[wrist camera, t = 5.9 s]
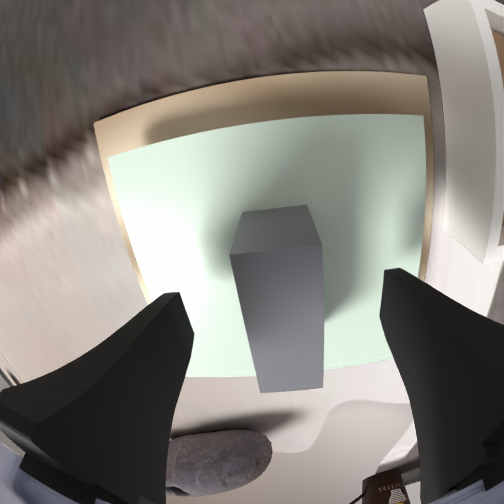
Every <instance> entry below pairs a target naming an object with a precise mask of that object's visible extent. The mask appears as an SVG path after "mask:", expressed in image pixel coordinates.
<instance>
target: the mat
mask: <svg viewBox="0 0 504 504" xmlns="http://www.w3.org/2000/svg"><path fill="white" fill-rule="evenodd" d="M349 114H399V115H420V116H423V117H424V130H425V149H426V197H425V216H424V230H423V240H422V249H421V258H420V265H419V272H418V278H419V279H420V280H422V281H424V279H425V273H426V267H427V260H428V253H429V244H430V235H431V224H432V211H433V190H434V151H433V130H432V117H431V107H430V98H429V91H428V84H427V77H426V76H422V75H413V74H403V73H391V72H372V71H326V72H307V73H294V74H284V75H275V76H266V77H259V78H252V79H246V80H240V81H234V82H229V83H223V84H218V85H214V86H209V87H205V88H200V89H196V90H192V91H188V92H184V93H180V94H176V95H173V96H169V97H166V98H162V99H159V100H156V101H153V102H149V103H146V104H143V105H140V106H137V107H134V108H131V109H129V110H126V111H123V112H120V113H118V114H115V115H112V116H110V117H107V118H105V119H102V120H100V121H97V122H95V123H94V127H95V132H96V137H97V142H98V147H99V152H100V156H101V161H102V165H103V169H104V173H105V177H106V181H107V185H108V189H109V192H110V196H111V200H112V203H113V207H114V210H115V213H116V217H117V220H118V223H119V226H120V230H121V233H122V236H123V239H124V242H125V245H126V248H127V251H128V254H129V257H130V259H131V262H132V265H133V268H134V270H135V273H136V276H137V278H138V281H139V284H140V286H141V289H142V291H143V294H144V296H145V299H146V301H147V304H148V305H149V304H150V303H151V302H152V300H151V297H150V295H149V292H148V290H147V287H146V284H145V282H144V279H143V276H142V274H141V271H140V268H139V265H138V262H137V260H136V257H135V254H134V251H133V248H132V245H131V242H130V239H129V235H128V232H127V229H126V226H125V223H124V219H123V216H122V212H121V209H120V205H119V202H118V198H117V195H116V191H115V187H114V183H113V179H112V175H111V171H110V167H109V163H108V157H111V156H114V155H117V154H120V153H123V152H126V151H130V150H133V149H136V148H140V147H143V146H147V145H151V144H154V143H158V142H162V141H166V140H170V139H174V138H178V137H182V136H187V135H191V134H196V133H200V132H205V131H210V130H215V129H221V128H226V127H232V126H238V125H244V124H251V123H258V122H265V121H273V120H281V119H290V118H301V117H313V116H327V115H349Z"/></svg>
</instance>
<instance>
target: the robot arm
mask: <svg viewBox="0 0 504 504" xmlns="http://www.w3.org/2000/svg"><path fill="white" fill-rule="evenodd" d="M379 317H380V321H381V325H382V328H383V332H384V335H385V338H386V341H387V344H388V346H389V348H390V351H391V353H392V355H393V358H394V360H395V363H396V365H397V367H398V370H399V372H400V375H401V377H402V380H403V382H404V385H405V387H406V391H407V394H408V397H409V400H410V405H411V409H412V414H413V418H414V423H415V429H416V435H417V441H418V450H419V460H420V482H421V491H420V492H421V493H420V499H421V504H504V325H502V324H500V323H498V322H495V321H493V320H491V319H489V318H486V317H484V316H482V315H480V314H478V313H476V312H474V311H472V310H470V309H468V308H467V307H465V306H463V305H461V304H460V303H458V302H456V301H454V300H453V299H451V298H449V297H448V296H446V295H444V294H443V293H441V292H439V291H438V290H436V289H435V288H433V287H431V286H430V285H428V284H427V283H425V282H424V281H422V280H420V279H419V278H417V277H416V276H414V275H412V274H411V273H409V272H407V271H405V270H404V269H402V268H394V269H387V270H384V277H383V288H382V297H381V306H380V313H379ZM194 336H195V334H194V331H193V328H192V326H191V323H190V320H189V317H188V315H187V312H186V309H185V306H184V303H183V300H182V297H181V294H180V292H168V293H163V294H162V295H160V296H159V297H158V298H156V299H155V300H154V301H153V302H151V303H150V304H149V305H148V306H146V307H145V308H144V309H143V310H142V311H140V312H139V313H138V314H137V315H136V316H134V317H133V318H132V319H131V320H130V321H128V322H127V323H126V324H125V325H124V326H122V327H121V328H120V329H118V330H117V331H116V332H115V333H113V334H112V335H111V336H109V337H108V338H107V339H106V340H104V341H103V342H102V343H100V344H99V345H97V346H96V347H94V348H93V349H91V350H90V351H88V352H87V353H85V354H84V355H82V356H81V357H79V358H77V359H75V360H74V361H72V362H70V363H68V364H66V365H64V366H63V367H61V368H59V369H57V370H55V371H53V372H51V373H48V374H46V375H44V376H42V377H39V378H37V379H34V380H31V381H29V382H26V383H23V384H19V385H16V386H13V387H10V388H6V389H3V390H2V391H1V392H0V430H1V431H2V432H3V433H4V434H5V435H6V436H7V437H8V438H9V439H10V440H12V441H13V442H14V443H15V444H16V445H17V446H19V447H20V448H21V449H22V450H23V451H25V452H26V453H25V455H24V457H22V456H20V455H19V454H18V453H16V452H15V451H13V450H12V449H10V448H9V447H7V446H6V445H5V444H3V443H0V504H166V469H167V456H168V448H169V440H170V433H171V427H172V421H173V416H174V412H175V408H176V404H177V401H178V398H179V394H180V391H181V388H182V385H183V382H184V379H185V375H186V372H187V369H188V366H189V362H190V359H191V354H192V349H193V342H194Z"/></svg>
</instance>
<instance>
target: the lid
mask: <svg viewBox="0 0 504 504" xmlns="http://www.w3.org/2000/svg"><path fill="white" fill-rule="evenodd" d="M108 163H109V167H110V171H111V175H112V179H113V183H114V187H115V191H116V195H117V198H118V202H119V205H120V209H121V212H122V216H123V219H124V223H125V226H126V229H127V232H128V235H129V239H130V242H131V245H132V248H133V251H134V254H135V257H136V260H137V262H138V265H139V268H140V271H141V274H142V276H143V279H144V282H145V284H146V287H147V290H148V292H149V295H150V297H151V300H152V302H153V301H154V300H155V299H156V298H158V297H159V296H160V295H162V294H163V293H168V292H180V294H181V297H182V300H183V303H184V306H185V309H186V312H187V315H188V317H189V320H190V323H191V326H192V328H193V331H194V334H195V336H194V342H193V349H192V354H191V359H190V362H189V366H188V369H187V372H186V375H185V376H186V377H241V376H257V380H258V384H259V388H260V392H261V393H268V392H284V391H296V390H307V389H316V388H323V373H324V370H328V369H336V368H343V367H349V366H356V365H362V364H368V363H373V362H378V361H384V360H388V359H393V355H392V353H391V351H390V348H389V346H388V344H387V341H386V338H385V335H384V332H383V328H382V325H381V321H380V317H379V313H380V306H381V297H382V288H383V277H384V270H387V269H394V268H402V269H404V270H405V271H407V272H409V273H411V274H412V275H414V276H416V277H417V278H418V272H419V265H420V258H421V249H422V240H423V230H424V216H425V197H426V149H425V130H424V117H423V116H420V115H399V114H349V115H327V116H313V117H301V118H290V119H281V120H273V121H265V122H258V123H251V124H244V125H238V126H232V127H226V128H221V129H215V130H210V131H205V132H200V133H196V134H191V135H187V136H182V137H178V138H174V139H170V140H166V141H162V142H158V143H154V144H151V145H147V146H143V147H140V148H136V149H133V150H130V151H126V152H123V153H120V154H117V155H114V156H111V157H108Z"/></svg>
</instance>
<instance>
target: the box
mask: <svg viewBox="0 0 504 504" xmlns="http://www.w3.org/2000/svg"><path fill="white" fill-rule="evenodd" d="M423 10H424V14H425V17H426V20H427V24H428V28H429V31H430V35H431V39H432V44H433V48H434V53H435V57H436V62H437V68H438V74H439V80H440V86H441V94H442V102H443V112H444V124H445V142H446V189H445V207H444V220H443V230H444V231H445V232H446V233H448V234H449V235H450V236H451V237H452V238H454V239H455V240H456V241H457V242H458V243H460V244H461V245H462V246H463V247H464V248H465V249H466V250H468V251H469V252H470V253H471V254H472V255H473V256H474V257H475V258H477V259H478V260H479V261H480V262H481V263H482V264H483V265H484V264H489V263H494V262H498V261H503V260H504V5H503V4H501V3H499V2H497V1H495V0H439V1H437V2H435V3H433V4H432V5H430V6H428V7H427V8H425V9H423Z"/></svg>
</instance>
